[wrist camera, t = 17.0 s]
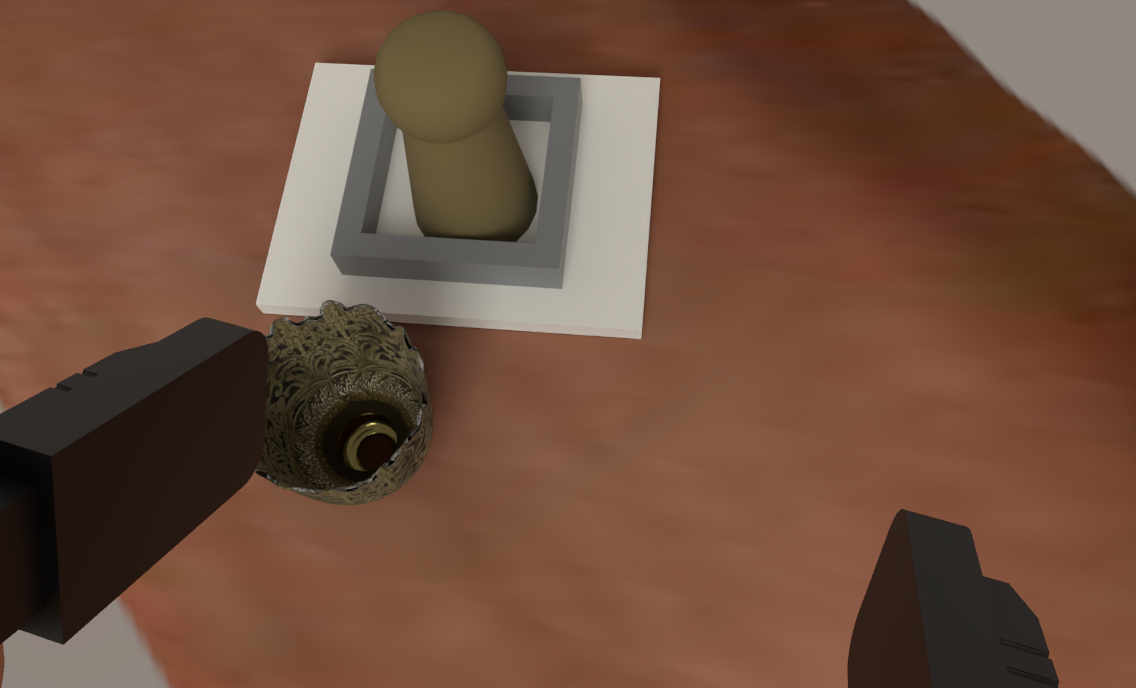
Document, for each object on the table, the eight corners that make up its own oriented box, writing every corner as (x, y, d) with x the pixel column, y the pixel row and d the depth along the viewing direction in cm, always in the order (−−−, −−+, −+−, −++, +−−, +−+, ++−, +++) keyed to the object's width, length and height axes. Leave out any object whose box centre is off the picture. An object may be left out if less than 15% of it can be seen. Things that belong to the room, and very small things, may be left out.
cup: (313, 560, 40) (244, 520, 33) (278, 406, 43) (206, 337, 35) (480, 502, 41) (449, 449, 33) (434, 354, 43) (396, 275, 36)
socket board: (659, 90, 49) (661, 51, 46) (641, 338, 43) (642, 311, 40) (321, 75, 50) (303, 36, 47) (263, 313, 45) (239, 285, 42)
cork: (397, 175, 46) (332, 17, 36) (511, 132, 47) (479, -36, 37) (437, 276, 44) (381, 136, 34) (557, 229, 44) (537, 78, 34)
